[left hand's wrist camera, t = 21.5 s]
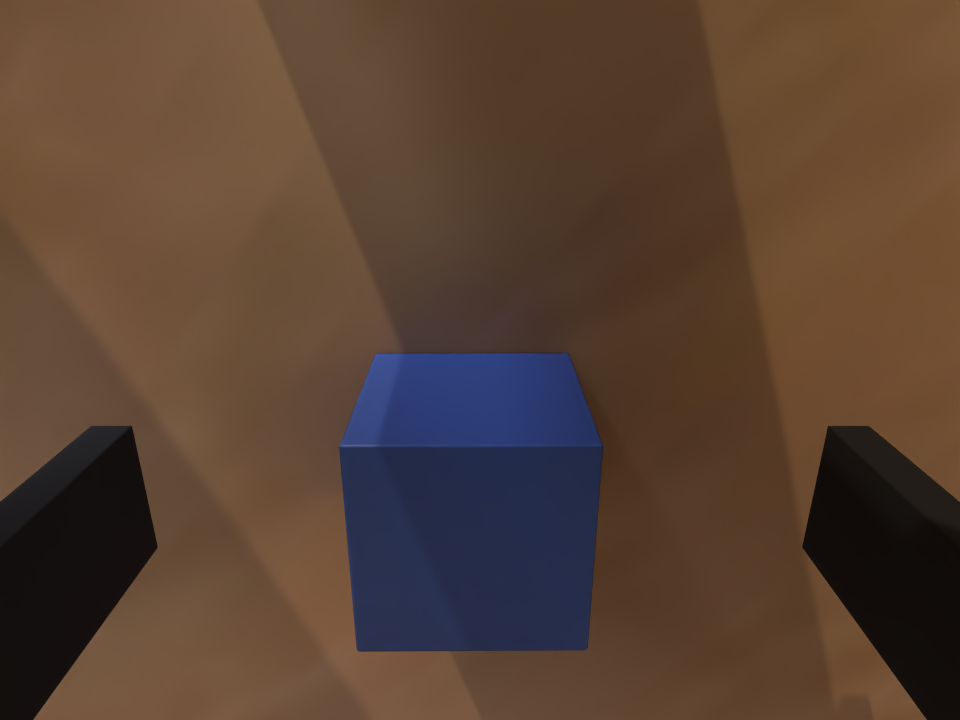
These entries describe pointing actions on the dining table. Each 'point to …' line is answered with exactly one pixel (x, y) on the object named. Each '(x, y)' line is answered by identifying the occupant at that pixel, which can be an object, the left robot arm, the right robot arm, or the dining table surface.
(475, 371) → the block
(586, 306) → the dining table surface
